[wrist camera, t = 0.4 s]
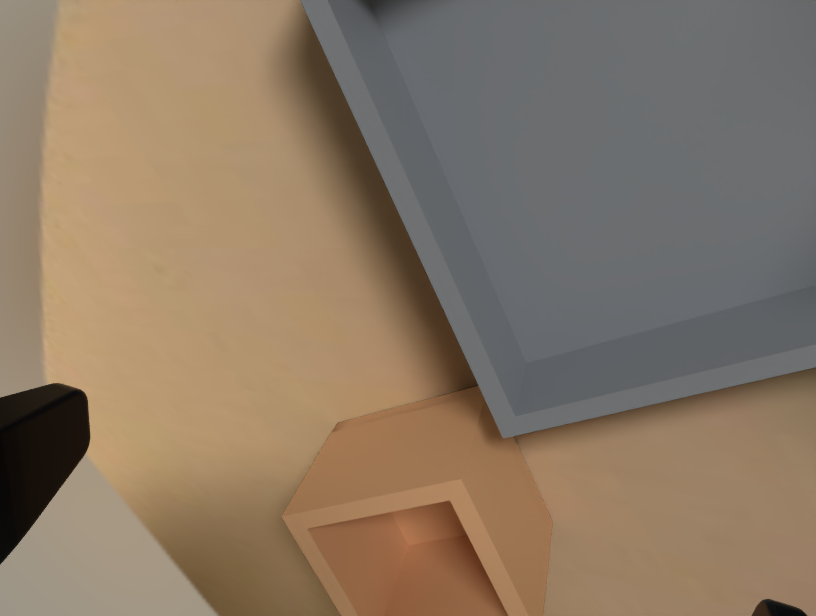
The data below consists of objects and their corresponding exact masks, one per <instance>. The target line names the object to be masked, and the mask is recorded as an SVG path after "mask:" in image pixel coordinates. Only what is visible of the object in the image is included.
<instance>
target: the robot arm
mask: <svg viewBox="0 0 816 616" xmlns="http://www.w3.org/2000/svg"><path fill="white" fill-rule="evenodd" d="M89 442H90V425H89V412H88V400H87V396H86V394H85V393H84V392H83V391H82V390H80V389H77V388H74V387H71V386H68V385H64V384H60V383H53V384H49V385H45V386H41V387H38V388H34V389H30V390H27V391H23V392H19V393H16V394H12V395H8V396H4V397H1V398H0V564H1V563H2V562H3V561H4V560H5V559H6V557H7V556H8V555H9V554H10V553H11V552H12V551H13V549H14V548H15V547H16V546H17V545H18V543H19V542H20V541H21V540H22V538H23V537H24V536H25V535H26V533H27V532H28V531H29V530H30V528H31V527H32V525H33V524H34V523H35V521H36V520H37V519H38V517H39V516H40V515H41V513H42V512H43V511H44V509H45V508H46V507H47V505H48V504H49V502H50V501H51V500H52V498H53V497H54V496H55V494H56V493H57V491H58V490H59V488H61V486H62V485H63V484H64V482H65V481H66V479H67V478H68V477H69V475H70V474H71V473H72V471H73V470H74V469H75V467H76V466H77V465H78V463H79V461H80V460H81V459H82V458H83V456H84V455H85V453H86V451H87V449H88V446H89ZM752 616H807V615H806V614H805V613H804V612H803V611H802V610H801V609H799V608H797V607H794V606H791V605H788V604H784V603H781V602H778V601H774V600H771V599H765V600H762V601H761V602H760V603H759V604H758V605H757V607H756V608H755V610H754V612H753V614H752Z"/></svg>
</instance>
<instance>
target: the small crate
mask: <svg viewBox="0 0 816 616" xmlns="http://www.w3.org/2000/svg"><path fill="white" fill-rule="evenodd" d="M281 517H282V519H283V520H284V522H285V524H286V525H287V527H288V529H289V530H290V532H291V534H292V535H293V537H294V539H295V540H296V542H297V544H298V545H299V547H300V549H301V550H302V552H303V553H304V555H305V557H306V558H307V560H308V562H309V563H310V565H311V567H312V568H313V570H314V572H315V573H316V575H317V577H318V578H319V580H320V582H321V583H322V585H323V587H324V588H325V590H326V592H327V593H328V595H329V596H330V598H331V600H332V601H333V603H334V605H335V606H336V608H337V610H338V611H339V613H340V615H341V616H543V613H544V603H545V593H546V584H547V574H548V565H549V555H550V545H551V536H552V526H553V522H552V520H551V517H550V515H549V513H548V511H547V509H546V507H545V504H544V502H543V500H542V498H541V496H540V493H539V491H538V489H537V487H536V485H535V482H534V480H533V478H532V476H531V474H530V471H529V469H528V467H527V465H526V463H525V461H524V458H523V456H522V454H521V452H520V450H519V447H518V445H517V443H516V441H515V439H514V436H513V437H508V438H504V439H503V437H502V435H501V433H500V431H499V429H498V427H497V424H496V422H495V420H494V418H493V416H492V414H491V411H490V409H489V407H488V405H487V403H486V401H485V399H484V396H483V394H482V392H481V390H480V388H479V386H476V387H472V388H468V389H465V390H461V391H457V392H453V393H449V394H446V395H442V396H438V397H434V398H430V399H427V400H423V401H419V402H415V403H411V404H408V405H404V406H400V407H396V408H392V409H389V410H385V411H381V412H377V413H374V414H370V415H366V416H362V417H358V418H355V419H351V420H347V421H343V422H339V423H337V424H336V426H335V428H334V429H333V431H332V433H331V434H330V436H329V438H328V439H327V441H326V443H325V444H324V446H323V448H322V449H321V451H320V453H319V454H318V456H317V458H316V459H315V461H314V463H313V464H312V466H311V468H310V469H309V471H308V473H307V474H306V476H305V478H304V480H303V481H302V483H301V485H300V486H299V488H298V490H297V491H296V493H295V495H294V496H293V498H292V500H291V501H290V503H289V505H288V506H287V508H286V510H285V511H284V513H283V515H282V516H281Z"/></svg>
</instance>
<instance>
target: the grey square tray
mask: <svg viewBox="0 0 816 616" xmlns="http://www.w3.org/2000/svg"><path fill="white" fill-rule="evenodd" d="M300 1H301V3H302V5H303V7H304V10H305V12H306V14H307V16H308V18H309V20H310V22H311V25H312V27H313V29H314V31H315V33H316V35H317V38H318V40H319V42H320V44H321V46H322V48H323V51H324V53H325V55H326V57H327V59H328V61H329V64H330V66H331V68H332V70H333V72H334V74H335V77H336V79H337V81H338V83H339V85H340V87H341V89H342V92H343V94H344V96H345V98H346V100H347V102H348V105H349V107H350V109H351V111H352V113H353V115H354V118H355V120H356V122H357V124H358V126H359V128H360V131H361V133H362V135H363V137H364V139H365V141H366V144H367V146H368V148H369V150H370V152H371V154H372V156H373V159H374V161H375V163H376V165H377V167H378V169H379V172H380V174H381V176H382V178H383V180H384V182H385V185H386V187H387V189H388V191H389V193H390V195H391V198H392V200H393V202H394V204H395V206H396V208H397V210H398V213H399V215H400V217H401V219H402V221H403V223H404V226H405V228H406V230H407V232H408V234H409V236H410V239H411V241H412V243H413V245H414V247H415V249H416V252H417V254H418V256H419V258H420V260H421V262H422V265H423V267H424V269H425V271H426V273H427V275H428V277H429V280H430V282H431V284H432V286H433V288H434V290H435V293H436V295H437V297H438V299H439V301H440V303H441V306H442V308H443V310H444V312H445V314H446V316H447V319H448V321H449V323H450V325H451V327H452V329H453V332H454V334H455V336H456V338H457V340H458V342H459V344H460V347H461V349H462V351H463V353H464V355H465V357H466V360H467V362H468V364H469V366H470V368H471V370H472V373H473V375H474V377H475V379H476V381H477V383H478V386H479V388H480V390H481V392H482V394H483V396H484V399H485V401H486V403H487V405H488V407H489V409H490V411H491V414H492V416H493V418H494V420H495V422H496V424H497V427H498V429H499V431H500V433H501V435H502V437H503V439H504V438H508V437H513V436H517V435H521V434H526V433H530V432H534V431H539V430H543V429H548V428H552V427H556V426H561V425H565V424H569V423H574V422H578V421H583V420H587V419H591V418H596V417H600V416H605V415H609V414H613V413H618V412H622V411H626V410H631V409H635V408H640V407H644V406H648V405H653V404H657V403H662V402H666V401H670V400H675V399H679V398H683V397H688V396H692V395H697V394H701V393H705V392H710V391H714V390H718V389H723V388H727V387H732V386H736V385H740V384H745V383H749V382H754V381H758V380H762V379H767V378H771V377H775V376H780V375H784V374H789V373H793V372H797V371H802V370H806V369H811V368H815V367H816V0H300Z"/></svg>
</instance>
